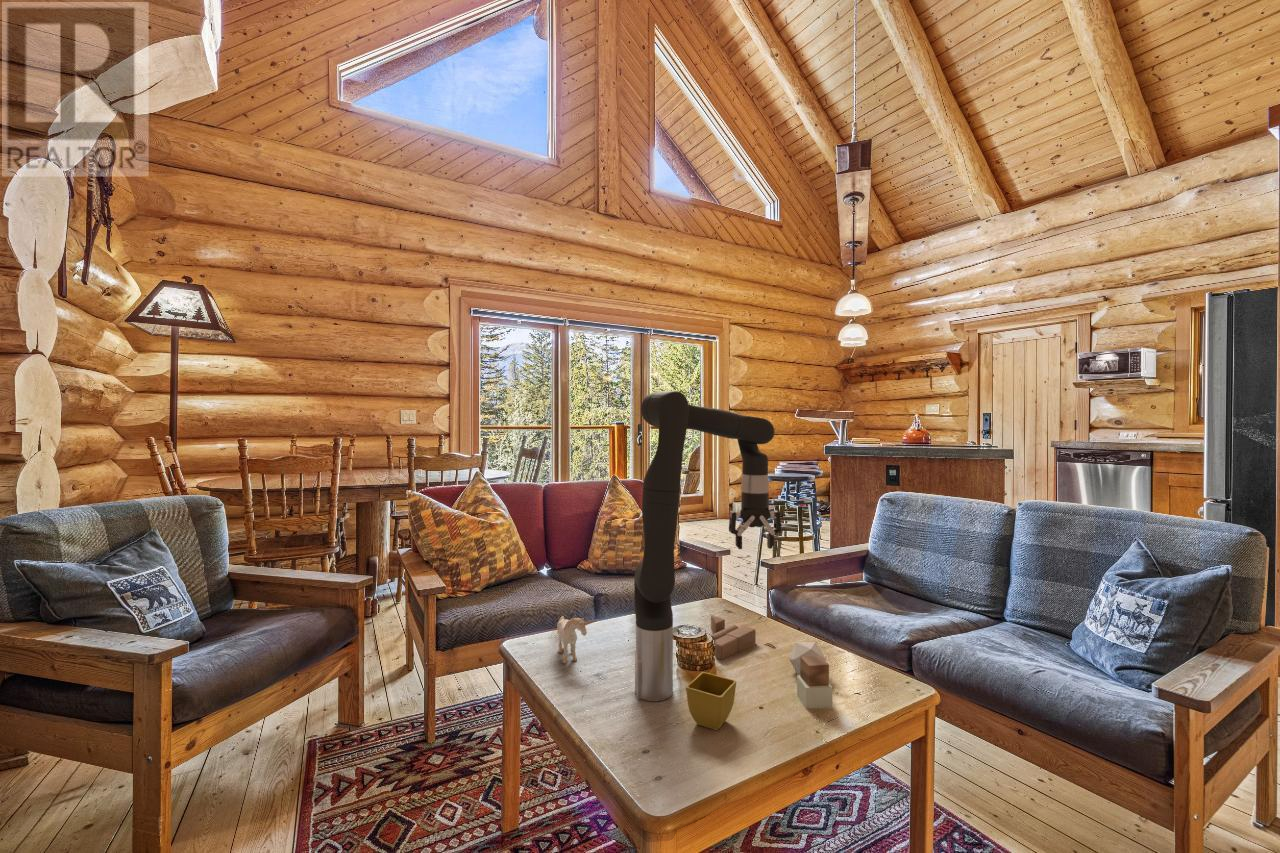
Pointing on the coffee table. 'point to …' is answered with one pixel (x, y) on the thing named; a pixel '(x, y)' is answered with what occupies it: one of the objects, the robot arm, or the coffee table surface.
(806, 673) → the walnut block
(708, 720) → the flower pot
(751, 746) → the coffee table surface
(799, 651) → the die
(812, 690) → the sage block
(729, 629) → the wooden block set
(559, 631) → the unicorn figurine
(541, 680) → the coffee table surface
